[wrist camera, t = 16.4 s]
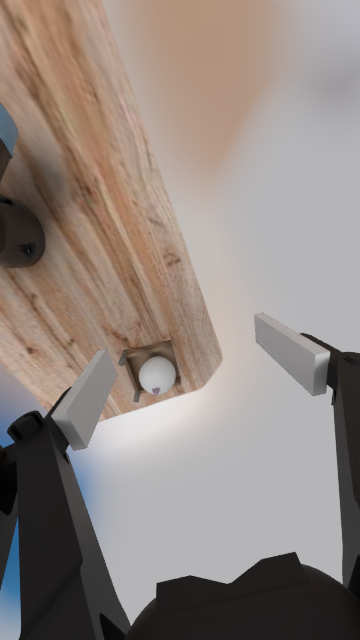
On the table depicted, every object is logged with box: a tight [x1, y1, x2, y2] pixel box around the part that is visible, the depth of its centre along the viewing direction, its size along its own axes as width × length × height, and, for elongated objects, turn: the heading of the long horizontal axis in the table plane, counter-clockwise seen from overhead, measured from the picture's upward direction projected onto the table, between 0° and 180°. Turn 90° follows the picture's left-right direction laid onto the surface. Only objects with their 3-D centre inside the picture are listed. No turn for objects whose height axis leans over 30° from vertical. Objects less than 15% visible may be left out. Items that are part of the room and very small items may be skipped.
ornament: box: [139, 356, 176, 396], centre depth 50 cm, size 10×10×12 cm
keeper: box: [118, 340, 181, 402], centre depth 53 cm, size 15×15×6 cm
